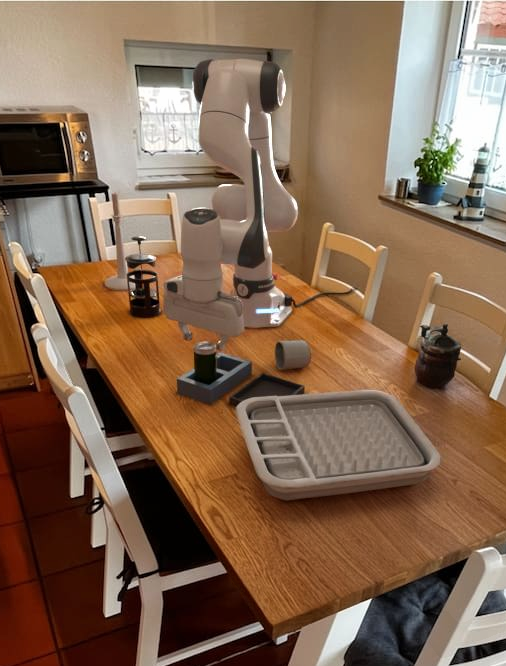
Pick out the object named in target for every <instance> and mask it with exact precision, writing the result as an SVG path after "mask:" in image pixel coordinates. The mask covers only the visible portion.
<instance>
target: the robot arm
mask: <svg viewBox="0 0 506 666" xmlns="http://www.w3.org/2000/svg"><path fill="white" fill-rule="evenodd" d="M192 89H193V94H194V99H195V101H196V102H197V103H198V104H199V106H200V109H199V117H198V128H197V129H198V130H197V131H198V132H197V137H198V138H197V139H198V144H199V146H200V149H201V151H202V152H203V154H204V155H205V156H206V157H207V158H208V159H209V161H210V162H212V163H214V164H215V165H216V166H218V167H220V168H222V169H223V170H225V171H227V172H229V173H231V174H233V175H235V176H236V177H238V178H239V179H240V180H241V181H242V182H243V184H239V183H231V184H230V183H229V184H221V185H219V186H218V187H217V188H216V189H215V190H214V192H213V194H212V197H211V208H207V207H195V208H192V209H188V210H187V211H185V212H184V213H183V215H182V220H181V229H180V256H181V258H182V269H181V275H178V276H174V277H172V278H169V279H166V280H165V281H164V282H163V290H164V293H163V297H162V299H163V300H162V305H163V314H164V315H165V316H164V317H166V319H167V320H171V321H174V322H177V326H178V328H179V330H180V332H181V333H182V340H183V341H187V342H190V341H192V340H193V331H190V329H189V326H192V327H195V328H198V329H201V330H204V331H209V332H212V333H215V334H219V339H220V340H218V342H216V343H215V347H216V350H217V351H219V352H223V351H225V350H226V349H227V348H226V347H227V345H226V344H227V342H228V340H229V339H230V338H233V339H235V338H237V337H239V336H240V335H242V334H243V333H244V332H245V328H252V329H254V328H255V329H258V328H259V329H260V328H268V327H269V328H270V327H271V328H277V327H280V326H281V324H282V323H283V322H284V321H285V320H286V319H287V318H288V317H289V316H290V314H291V313H292V312H293V308H292V307H291V306H293V307H294V308H298V307H301V306H303V305H305V304H307V303H308V302H310V301H313V300H315V299H316V298H318V297H321V296H326V295H327V296H328V295H330V296H332V295H333V296H341V295H348V294H351V293H352V292H353V291H354V290H357V291H358V290H359V288H358V287H357V286H355V285H354V286H352V288H354V289H353V290H352V288H350V289H349V290H348V291H345V292H344V291H343V292H333V291H332V292H331V291H330V292H329V291H327V292H320V293H318V294H315V295H313V296H312V297H309V298H308V299H306V300H304V301H303V302H302V303H299V304H296V300H295V299H294V298H293V296H291V295H289V294H287V293H286V292H283V291H281V289H279V288H278V287H277V286H276V285H275V281H278V280H279V278H280V274H279V273H276V272H273V250H272V248H271V246H270V244H269V243H270V242H269V236H268V235H269V234H268V232H271V233H277V232H278V233H279V232H280V233H281V232H282V233H283V232H288V231H290V230H291V229H292V228H293V227H294V226H295V224H296V222H297V220H298V216H299V208H298V207H299V206H298V204H297V201H296V199H295V198H294V197H293V195H291V193H289V191H287V189H286V188H285V187H284V186H283V184H282V182H281V180H280V177H279V176H278V173H277V171H276V167H275V163H274V151H273V133H272V119H271V115H272V113H274V112H276V111H278V110H279V109H280V108H281V106H282V105H283V102H284V98H285V97H286V96H285V95H286V81H285V76H284V72H283V70H282V68H281V67H280V66H279V64H277V63H275V62H273V61H269V60H264V61H261V60H255V59H248V58H237V59H235V58H234V59H229V58H228V59H227V58H226V59H216V60H214V59H212V58H211V59H210V58H209V59H205V60H202V61H199V62H198V63H197V65H196V66H195V67H194V69H193V74H192ZM222 265H231V266H234V273H233V274H232V275H233V277H232V286H233V287H232V288H231V289H230V294H229V293H226V292H224V273H223V268H222Z"/></svg>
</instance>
